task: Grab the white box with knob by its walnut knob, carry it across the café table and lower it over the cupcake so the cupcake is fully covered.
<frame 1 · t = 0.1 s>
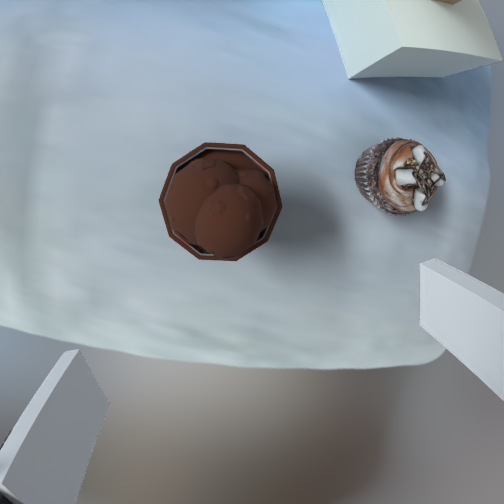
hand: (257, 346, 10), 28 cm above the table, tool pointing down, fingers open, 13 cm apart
cupcake: (379, 174, 38), on the table
white box with knob: (383, 24, 32), on the table
ice cream bowl: (220, 194, 37), on the table
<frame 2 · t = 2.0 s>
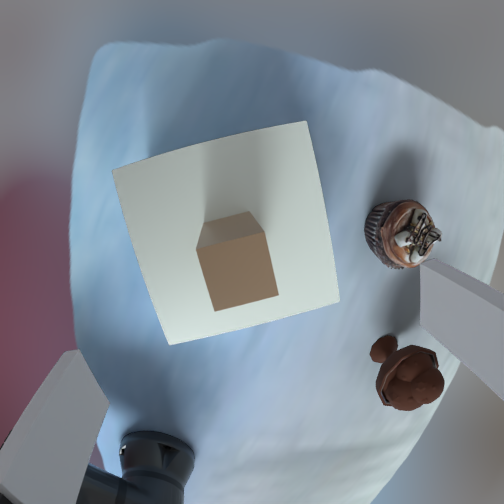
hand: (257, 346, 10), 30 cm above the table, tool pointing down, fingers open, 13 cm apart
cupcake: (386, 228, 43), on the table
white box with knob: (227, 216, 40), on the table
ice cream bowl: (383, 348, 48), on the table
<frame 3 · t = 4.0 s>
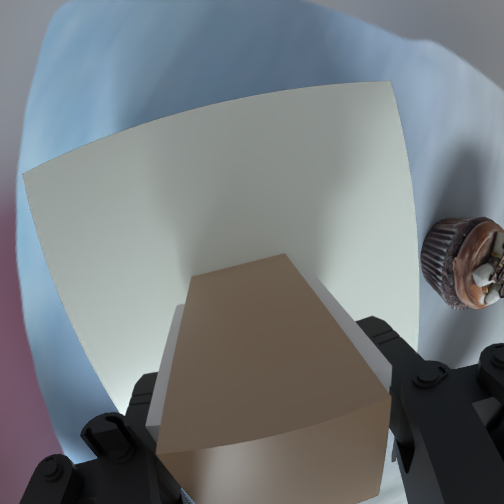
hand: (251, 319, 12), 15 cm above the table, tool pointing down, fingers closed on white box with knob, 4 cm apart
cupcake: (445, 252, 29), on the table
white box with knob: (234, 239, 26), on the table, touching gripper
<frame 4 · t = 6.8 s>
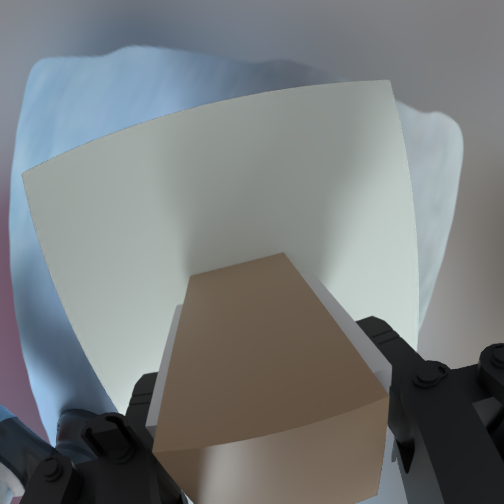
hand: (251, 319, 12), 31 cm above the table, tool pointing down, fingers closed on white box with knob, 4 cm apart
white box with knob: (233, 238, 26), point 16 cm above the table, touching gripper
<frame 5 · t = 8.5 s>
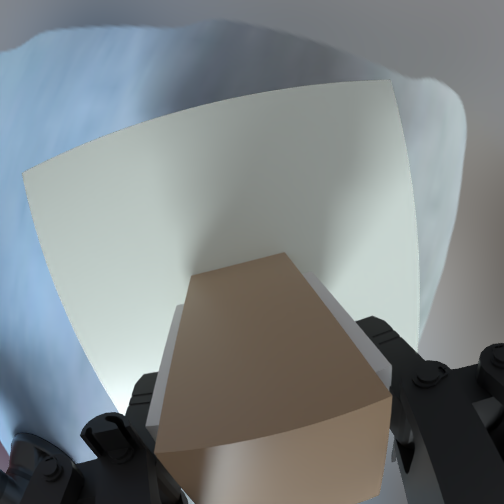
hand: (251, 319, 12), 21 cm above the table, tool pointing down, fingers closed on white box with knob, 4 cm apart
white box with knob: (234, 238, 26), point 6 cm above the table, touching gripper
when the fingers open (16 cm above the table, at t = 9.6 s): white box with knob drops 1 cm, on the table.
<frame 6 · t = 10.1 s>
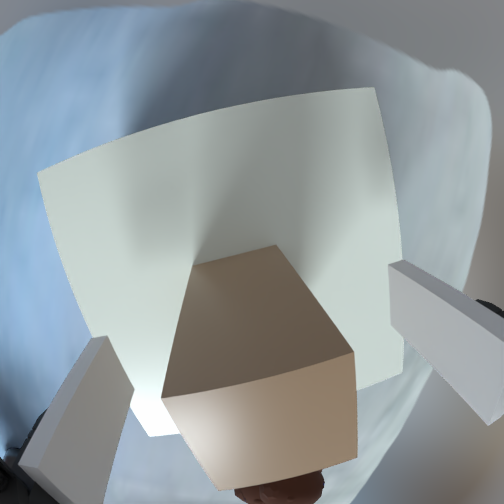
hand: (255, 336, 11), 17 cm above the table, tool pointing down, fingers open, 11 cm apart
white box with knob: (232, 235, 28), on the table
ice cream bowl: (261, 407, 34), on the table
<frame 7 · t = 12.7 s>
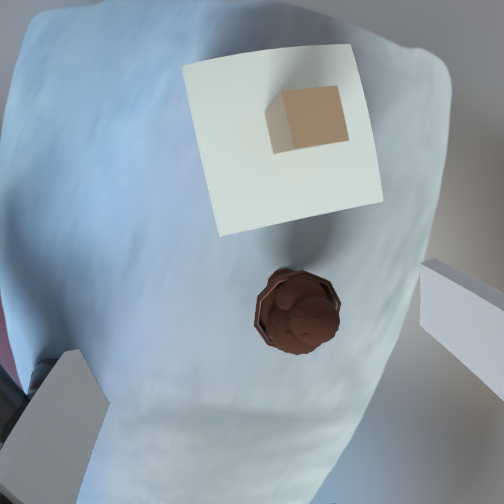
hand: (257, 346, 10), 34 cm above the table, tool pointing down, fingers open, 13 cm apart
white box with knob: (269, 141, 40), on the table
ice cream bowl: (284, 285, 46), on the table
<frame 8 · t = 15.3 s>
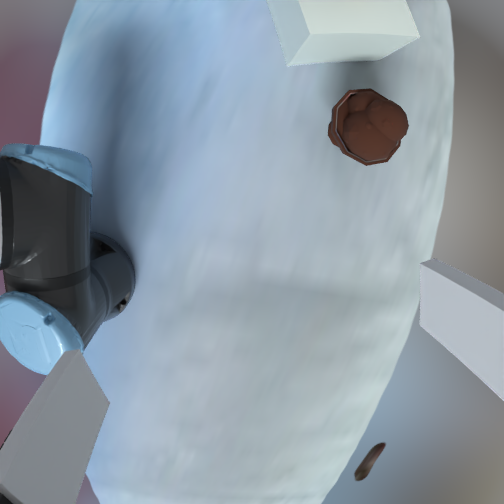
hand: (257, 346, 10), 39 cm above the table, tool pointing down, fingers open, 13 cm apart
white box with knob: (321, 20, 40), on the table
ice cream bowl: (342, 132, 46), on the table
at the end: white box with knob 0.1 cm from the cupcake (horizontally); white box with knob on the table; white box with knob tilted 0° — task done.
